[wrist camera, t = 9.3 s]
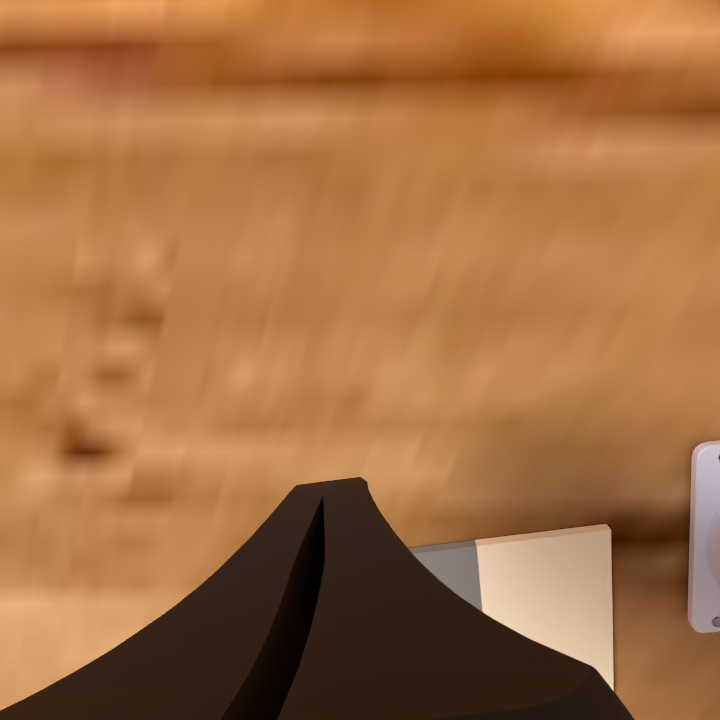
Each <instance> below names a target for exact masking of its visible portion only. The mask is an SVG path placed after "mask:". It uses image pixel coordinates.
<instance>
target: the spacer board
mask: <svg viewBox="0 0 720 720" xmlns="http://www.w3.org/2000/svg"><path fill="white" fill-rule="evenodd" d="M408 549H409V550H410V551H411V552H412V554H413V555H414V556H415V557H416V558H417V559H418V560H419V561H420V562H421V563H422V564H423V565H424V566H425V567H426V568H427V569H428V570H429V571H430V572H431V573H433V574H434V575H435V576H436V577H437V578H438V579H439V580H440V581H441V582H443V583H444V584H445V585H446V586H447V587H449V588H450V589H451V590H452V591H454V592H455V593H456V594H457V595H458V596H460V597H461V598H463V599H464V600H466V601H467V602H469V603H470V604H472V605H473V606H475V607H476V608H477V609H479V610H480V611H482V612H483V613H485V614H486V615H488V616H489V617H491V618H493V619H494V620H496V621H498V622H500V623H502V624H503V625H505V626H507V627H509V628H511V629H512V630H514V631H516V632H518V633H520V634H521V635H523V636H525V637H527V638H529V639H531V640H533V641H536V642H538V643H540V644H543V645H545V646H547V647H549V648H552V649H554V650H556V651H559V652H561V653H563V654H565V655H568V656H570V657H572V658H575V659H577V660H579V661H581V662H584V663H586V664H588V665H591V666H593V667H594V668H595V669H596V670H597V671H598V672H599V673H600V674H601V676H602V677H603V678H604V679H605V681H606V682H607V683H608V685H609V686H610V687H611V689H612V690H613V691H614V679H613V618H612V558H611V529H610V528H609V526H608V525H607V524H600V525H592V526H584V527H576V528H568V529H560V530H551V531H543V532H535V533H527V534H519V535H511V536H502V537H494V538H486V539H478V540H470V541H462V542H454V543H445V544H437V545H429V546H421V547H413V548H408Z"/></svg>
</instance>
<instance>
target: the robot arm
mask: <svg viewBox="0 0 720 720" xmlns="http://www.w3.org/2000/svg"><path fill="white" fill-rule="evenodd" d="M719 454H720V440H717V441H709V442H704V443H701V444H699V445H698V446H697V447H696V448H695V449H694V450H693V453H692V463H691V502H690V541H689V580H688V623H689V624H690V625H691V626H692V628H693V629H694V630H695V631H697V632H699V633H709V632H718V631H720V459H718V457H719ZM717 616H718V617H717ZM715 617H717V618H716V619H714V618H715ZM713 619H714V620H713ZM0 720H634V718H633V717H632V716H631V714H630V713H629V711H628V710H627V709H626V707H625V706H624V704H623V703H622V702H621V700H620V699H619V698H618V697H617V695H616V694H615V693H614V691H613V690H612V689H611V687H610V686H609V685H608V683H607V682H606V681H605V679H604V678H603V677H602V676H601V674H600V673H599V672H598V671H597V670H596V669H595V668H594V667H593V666H591V665H588V664H586V663H584V662H581V661H579V660H577V659H575V658H572V657H570V656H568V655H565V654H563V653H561V652H559V651H556V650H554V649H552V648H549V647H547V646H545V645H543V644H540V643H538V642H536V641H533V640H531V639H529V638H527V637H525V636H523V635H521V634H520V633H518V632H516V631H514V630H512V629H511V628H509V627H507V626H505V625H503V624H502V623H500V622H498V621H496V620H494V619H493V618H491V617H489V616H488V615H486V614H485V613H483V612H482V611H480V610H479V609H477V608H476V607H475V606H473V605H472V604H470V603H469V602H467V601H466V600H464V599H463V598H461V597H460V596H458V595H457V594H456V593H455V592H454V591H452V590H451V589H450V588H449V587H447V586H446V585H445V584H444V583H443V582H441V581H440V580H439V579H438V578H437V577H436V576H435V575H434V574H433V573H431V572H430V571H429V570H428V569H427V568H426V567H425V566H424V565H423V564H422V563H421V562H420V561H419V560H418V559H417V558H416V557H415V556H414V555H413V554H412V552H411V551H410V550H409V549H408V548H407V547H406V546H405V544H404V543H403V542H402V541H401V540H400V539H399V537H398V536H397V535H396V534H395V532H394V531H393V530H392V528H391V527H390V525H389V524H388V523H387V521H386V520H385V518H384V517H383V516H382V514H381V512H380V511H379V509H378V508H377V506H376V504H375V502H374V500H373V499H372V497H371V494H370V492H369V489H368V484H367V482H366V481H365V480H364V479H363V478H361V477H357V478H349V479H341V480H333V481H325V482H317V483H309V484H301V485H296V486H295V487H294V488H293V489H292V491H291V492H290V493H289V494H288V495H287V496H286V498H285V499H284V500H283V501H282V502H281V503H280V505H279V506H278V507H277V508H276V509H275V511H274V512H273V513H272V514H271V515H270V516H269V517H268V519H267V520H266V521H265V522H264V523H263V524H262V525H261V526H260V527H259V529H258V530H257V531H256V532H255V533H254V534H253V535H252V536H251V537H250V539H249V540H248V541H247V542H246V543H245V544H243V545H242V546H241V547H240V548H239V549H238V550H237V551H236V552H235V553H234V554H233V555H232V556H231V557H230V558H229V559H228V560H227V561H226V562H225V563H224V564H223V565H222V566H221V567H220V568H219V569H218V570H217V571H216V572H215V573H214V574H213V575H212V576H211V577H209V578H208V579H207V580H206V581H205V582H204V583H203V584H201V585H200V586H199V587H198V588H197V589H195V590H194V591H193V592H192V593H190V594H189V595H188V596H187V597H185V598H184V599H183V600H182V601H180V602H179V603H178V604H177V605H176V606H174V607H173V608H172V609H170V610H169V611H168V612H166V613H165V614H163V615H162V616H161V617H159V618H158V619H156V620H155V621H153V622H152V623H150V624H149V625H147V626H146V627H144V628H143V629H142V630H140V631H139V632H137V633H136V634H134V635H133V636H131V637H130V638H128V639H127V640H125V641H124V642H123V643H121V644H120V645H118V646H117V647H115V648H114V649H112V650H110V651H109V652H107V653H106V654H104V655H102V656H100V657H99V658H97V659H95V660H94V661H92V662H90V663H89V664H87V665H85V666H84V667H82V668H80V669H79V670H77V671H75V672H73V673H72V674H70V675H68V676H66V677H64V678H63V679H61V680H59V681H57V682H55V683H54V684H52V685H50V686H48V687H46V688H45V689H43V690H41V691H39V692H37V693H35V694H33V695H31V696H29V697H27V698H25V699H24V700H22V701H19V702H17V703H15V704H13V705H11V706H9V707H7V708H5V709H3V710H1V711H0Z"/></svg>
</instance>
